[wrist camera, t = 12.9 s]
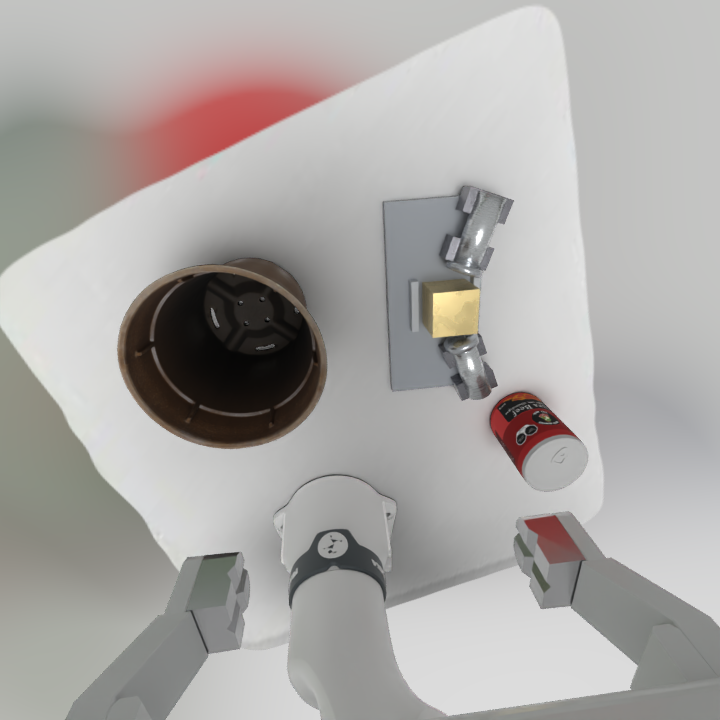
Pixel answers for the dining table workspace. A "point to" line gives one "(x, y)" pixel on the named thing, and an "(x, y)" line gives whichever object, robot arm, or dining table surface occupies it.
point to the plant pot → (223, 354)
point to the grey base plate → (418, 286)
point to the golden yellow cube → (450, 307)
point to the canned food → (538, 442)
